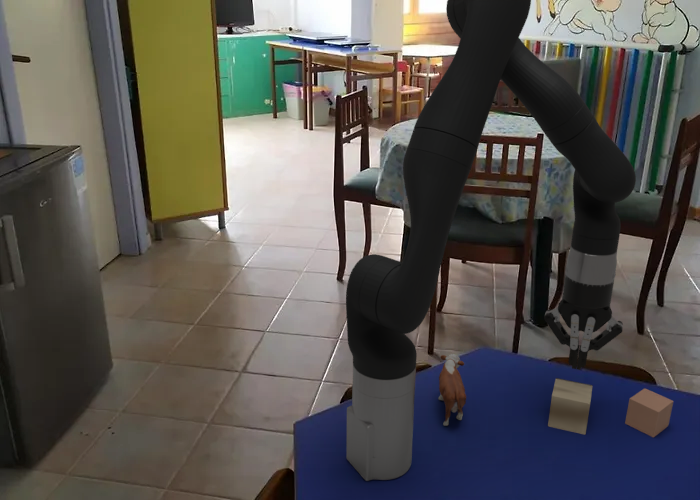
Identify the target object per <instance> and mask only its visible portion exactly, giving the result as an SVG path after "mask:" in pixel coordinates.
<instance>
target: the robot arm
mask: <svg viewBox="0 0 700 500" xmlns="http://www.w3.org/2000/svg"><path fill="white" fill-rule="evenodd" d="M531 5H532V0H446V8H445V9H446V11H445V12H446V17H447V20H448V23H449V26H450V27H451V29H452V30H453V32H454V33H455V34H456V35H457V37H458V38H459V43H458V46H457V48H456V51H455V54H454V56H453V58H452V61H451V62H450V64H449V66H448V68H447V70H446V71H445V73H444V74H443V76H442V78H441V79H440V80H439V82H438V84H437V85H436V87H435V88H434V90H433V91H432V93H431V94H430V96H429V98H428V99H427V100H426V102H425V104H424V106H423V107H422V110H421V111H420V113H419V115H418V117H417V119H416V122H415V123H414V126H413V130H412V132H411V136H410V139H409V142H408V145H407V147H406V150H405V154H404V157H403V162H402V173H403V182H404V188H405V194H406V198H407V204H408V208H409V215H410V216H409V217H410V230H409V231H410V232H409V237H408V242H407V247H406V250H405V253H404V257H403V259H402V261H400V260H396V259H393V258H391V257H387V256H384V255H381V254H375V253H373V254H368V255H366V256H363V257H362V258H360V259H359V260H358V261H357V262H356V264H355V265H354V266H353V268H352V269H351V271H350V274H349V277H348V280H347V285H346V289H345V290H346V291H345V314H346V315H345V316H346V331H347V333H346V334H347V345H348V348H349V351H350V353H351V355H352V395H351V396H352V397H351V398H352V399H351V401H352V404H351V405H350V406H347V407H346V460H347V461H348V462H349V464H350V465H351V466H352V467H353V468H354V469H355V470H356V472H358V473H359V475H360V476H361V477H362V478H363V479H364V481H366V482H370V481H372V480H380V481H387V480H388V481H389V480H394V479H397V478H400V477H402V476H403V475H405V474H406V473H407V472H408V471H409V470H410V468H411V465H412V458H413V457H412V456H413V434H414V414H415V412H414V411H415V395H416V394H415V393H416V392H415V391H416V373H417V371H416V370H417V356H418V355H417V348H416V345H415V344H414V343H413V341H412V340H411V339H410V338H409V337H408V336H407V335H406V334H410V333H413V332H414V331H416V329H418V328H419V327H420V325H421V324H422V323H423V321H424V320H425V318H426V316H427V314H428V312H429V309H430V308H431V307H430V306H431V304H432V302H433V298H434V295H435V291H436V286H437V283H438V279H439V276H440V270H441V266H442V263H443V258H444V254H445V251H446V246H447V242H448V238H449V234H450V230H451V227H452V225H453V221H454V218H455V214H456V212H457V208H458V205H459V203H460V200H461V197H462V194H463V191H464V188H465V185H466V183H467V180H468V177H469V175H470V173H471V170H472V166H473V163H474V161H475V157H476V155H477V152H478V149H479V145H480V142H481V139H482V135H483V132H484V129H485V125H486V122H487V120H488V118H489V115H490V112H491V109H492V105H493V102H494V100H495V97H496V94H497V89H498V87H499V84H500V80H501V81H502V83H504V85H505V86H506V87H507V88H508V89H509V90H510V91H511V92H512V93H513V94H514V95H515V97H516V98H517V99H518V100H519V101H520V102H521V104H522V105H523V106H524V108H525V109H526V110H527V111H528V113H529V114H530V115H531V117H532V118H533V120H535V123H537V125H538V126H539V128H540V129H541V130H542V132H543V133H544V135H545V136H546V138H547V139H548V140H549V142H550V143H551V145H553V148H555V149H556V150H557V151H558V153H560V154H561V155H562V156H563V157H564V158H566V159H567V160H568V161H569V162H570V163H569V164H571V166H572V168H574V171H573V176H572V177H573V178H572V192H573V193H572V195H573V210H574V222H573V228H572V234H571V242H570V248H569V252H568V254H567V260H566V266H565V268H564V269H565V270H564V271H565V275H564V281H563V282H564V284H563V290H562V298H561V300H560V301H559V302H558V305H557V307H556V308H552V309H551V308H549V309H547V310H546V311H545V313H544V317H543V318H544V321H545V322H546V324H547V326H548V327H549V328H550V331H551V332H552V333H553V334H554V336H555V338H556V339H557V340H558V342H559V343H560V344H561V345H566V346H568V347H569V355H568V362H567V363H568V364H569V366H570V365H571V369H574V370H579V371H581V369H582V368H585V367H586V366H587V361H588V360H587V359H588V353H589V351H592V350H594V351H595V352H596V351H599V350H601V349H602V348H603V347H605V346H606V345H607V344H609V343H610V342H611V341H613V340H614V339H615V338H617V337H618V336H619V335H621V334H622V333H623V328H624V324H623V321H621V320H617V319H616V318H615V317H613V316H612V315H613V311H612V309H611V302H612V295H613V290H614V283H615V278H616V271H617V263H618V262H617V261H618V260H617V255H618V247H619V242H620V241H619V240H620V235H621V227H622V226H621V219H620V217H619V215H618V213H617V211H616V205H615V204H616V203H620V202H622V201H624V200H626V199H627V198H628V197H629V196H630V195H631V194H632V193H633V191H634V189H635V186H636V181H637V180H636V177H637V176H636V172H635V169H634V167H633V164H632V163H631V162H630V160H629V159H628V158H627V156H626V155H625V154H624V152H623V151H622V150H621V148H619V146H618V145H617V144H616V143H615V142H614V141H613V139H612V138H610V136H609V135H608V134H607V133H606V132H605V131H604V130H603V129H602V127H601V126H600V124H599V122H598V121H597V119H596V117H595V115H594V114H593V113H592V111H591V109H590V108H589V107H588V105H587V104H586V102H585V101H584V100H583V98H582V97H581V95H580V94H579V93H578V91H577V90H576V89H575V88H574V87H573V86H572V85H571V84H570V83H569V82H568V81H567V80H566V79H565V78H564V77H563V76H562V75H560V74H559V73H557V71H555V70H554V69H552V68H551V67H549V66H548V65H547V64H546V63H545V62H543V61H542V60H541V59H539V58H538V56H537V55H535V54H534V53H533V52H532V51H531V50H530V49H529V48H528V47H527V46H526V44H525V43H524V42H523V41H522V40H521V38H520V35H521V33H522V31H523V29H524V27H525V24H526V22H527V19H528V17H529V14H530V9H531ZM561 318H562V319H563V322H564V323H565V325H566V326H567V327H568V329H570V333H568V332H567V330H566V328H565V327H564V325H563V324H562V323H561V321H560V320H561ZM605 325H606V328H605V330H603V331H602V332H600V333H599V334H598V335H597V336H595V337H594V338H592V336H593V333H595V332H597V331H599V330H600V329H601V328H602V327H603V326H605ZM580 332H583V334H582V338H581V342H580V341H579V339H580ZM580 343H581V344H580Z"/></svg>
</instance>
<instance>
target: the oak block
mask: <svg viewBox="0 0 700 500" xmlns="http://www.w3.org/2000/svg"><path fill="white" fill-rule="evenodd" d="M592 392H593V384H589V383H583V382H578V381H573V380H568V379H565V378H559V377H555V380H554V385H553V389H552V394H551V400H550V401H551V402H550V408H549V415H548V423H547V427H550V428H554V429H558V430H563V431H566V432H572V433H575V434H576V433H577V434H580V435H586V433H587V427H588V421H589V413H590V408H591V400H592Z"/></svg>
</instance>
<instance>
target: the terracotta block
mask: <svg viewBox="0 0 700 500" xmlns="http://www.w3.org/2000/svg"><path fill="white" fill-rule="evenodd" d="M673 405H674V400H672V399H670V398H668V397H666V396H664V395H661V394H658V393H657V392H654V391H652V390H649V389H647V388H645V387H644V388H643V389H642V390H639V391H638V392H636V393H635V394H634V395H633V396H631V397H629V400H628V406H627V410H626V416H625V422H624V424H625V425H628V426H630V427H631V428H634V429H635V430H638V431H639V432H641V433H643V434H645V435H647V436H649V437H651V438H655V437H656V436H658V435H659V434H660V433H661V432H663V431H664V430H666V429H667V427H669V424H670V421H671V420H670V419H671V415H672V410H673Z"/></svg>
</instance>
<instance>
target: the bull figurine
mask: <svg viewBox="0 0 700 500" xmlns="http://www.w3.org/2000/svg"><path fill="white" fill-rule="evenodd" d="M440 359H441V360H442V361H444V363H443V365H442V369H441V370H440V373H439V376H438V381H439V382H438V389H439V393H440V395H439V396H438V400H439V401H443V402H444V405H445V415H444V416H445V420H444V421H443V424H442V425H443V426H445V427H448V426H449V423H450V422H449V420H450V417H451V412H452V413H457V414H456V417H455V418H456V419H457V420H458V421H462V419H463V416H464V413H463V408H464V406H465V405H466V402H467V394H466V388H465V384H464V383H463V379H462V375H461V373H460V372H459V370H458V368H459V367H460V366H461V367H463V366H465V362H464V361H463V360H461V359H460V356H458V355H457V354H454V353H450V354H449V355H448V356H447V355H444V354H441V355H440Z"/></svg>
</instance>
